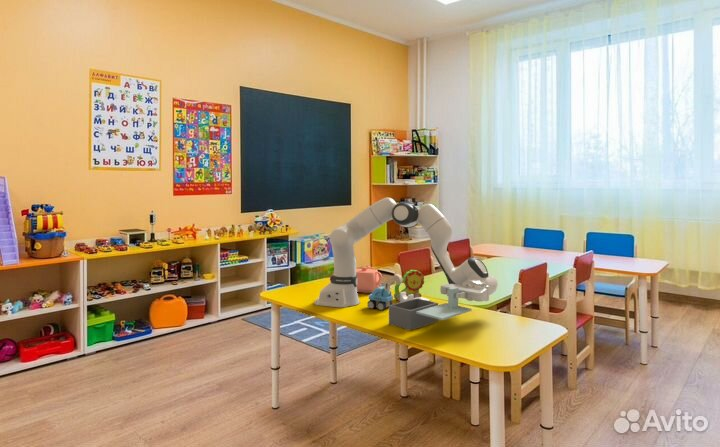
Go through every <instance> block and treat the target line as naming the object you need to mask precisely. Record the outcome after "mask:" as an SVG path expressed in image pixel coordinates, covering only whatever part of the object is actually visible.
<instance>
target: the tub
mask: <svg viewBox="0 0 720 447" xmlns="http://www.w3.org/2000/svg"><path fill="white" fill-rule="evenodd" d="M437 305H439V302H435V301H427V300H423V299H419V298H415V299H411V300H408V301H404V302H400V301H399V302H397V303H392V305H389V307H388V324H389V325H392V326H395V327H398V328H401V329H404V330H408V331H412V330H415V329H418V328H422V327H425V326H428V325H432V324H434V323H436V322H439V319H435V318H431V317H428V316H424V315H420V314H416V311H420V310H423V309H427V308H430V307H434V306H437Z"/></svg>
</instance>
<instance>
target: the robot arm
mask: <svg viewBox="0 0 720 447" xmlns="http://www.w3.org/2000/svg"><path fill="white" fill-rule="evenodd" d="M391 220H393V222H394V223H396V224H397V225H399V226H401V227H403V228H413V227H416V226H417V225H418V224H419V225H420V226H421V227H422V228H423V230H424V231H425V232H426V234H427V236H428V237H429V239H430V242H431V243H430V244H431V245H430V248H431V252H432V253H433V255H434V257H435V259H436V261H437V262H438V264H439V267H440V268H441V270H442V271H443V273H444V275H445V278H446V280H447V283H446V284H442V285H440V289H439V290H440V294H441V295H446V296H447V297H448V289H449V288H453V287H457V288H458V293H455V294H454V298H458V299H465V300H466V301H470V302H473V301H474V302H488V301H490V296H491V295H492V294H494V293H496V291H497V290H498V286H499V284H498V280H497V279H496V278H495V276H493V275H492V274H490V273H488V272H489V271H488V269H487V266H486V265H485V263H484V262H483V261H482V260H481V259H478V258H476V257H468V258H467V259H466V260H465V261H464V262H462V263H461V264H460V265H459V266H457V267H455V266H454V264H453V262H452V260H451V258H450V257H449V255H448V251H447V248H448V245H449V243H450V240H451V238H452V235H453V227H452V225H451V223H450V222H449V220H448V218H446V217H445V215H444V214H443V213H442V212H441V211H440V210H439V209H438V208H437V207H436V206H435V205H433V204H432V203H425V204H422V205H421V206H420V207H417V206H416V205H414V204H411V203H408V202H399V203H397V202H396V201H395V200H394V199H393V198H392V197H388V196H387V197H384V198H381V199H380V200H377V201H375V202H374V203H373V204H371V205H369V206H368V207H366V208H365V209H363V210H362V211H360V212H359V213H358V214H356V215H355V216H354V217H353V218H351V219H349V221H348V222H345V223H344V224H343V225H341V226H337V227H336V228H334V229H333V230H332V231H331V233H330V234H329V235H330V236H329V243H330V244H331V250H332V258H333V269H334V270H333V273H332V274H331V275H330V277H329V280H330V282H329V283H328V284H327V285H325V287H323V288H322V289H321V290H320V292H319V294H318V296H319V297H318V298H316V299H315V301H314V305H315V306H322V307H330V308H331V307H332V308H341V309H342V308H347V307H353V306H356V305H359V304H360V303H361V302H360V299H359V293H357V275H356V269H357V259H356V258H357V257H356V256H355V249H354V248H355V247H354V245H355V244H357V243H358V242H359V241H361V240H362V239H364V238H365V237H367V236H368V235H369V234H371V233H373V232H374V231H376V230H377V229H379V228H380V227H382V226H383V225H384V224H386V223H387V222H390V221H391Z"/></svg>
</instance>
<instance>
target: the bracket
mask: <svg viewBox="0 0 720 447" xmlns="http://www.w3.org/2000/svg"><path fill="white" fill-rule="evenodd" d="M399 292H400V301H399V303H400V302H404V301H408V300H411V299H415V298H414V295H413V294H411V295H408V296H406V292H401V291H399ZM418 298H419V299H423V300H427V301H431V299H429V298H426V297H422V296H421V297H418ZM431 302H432V301H431Z"/></svg>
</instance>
